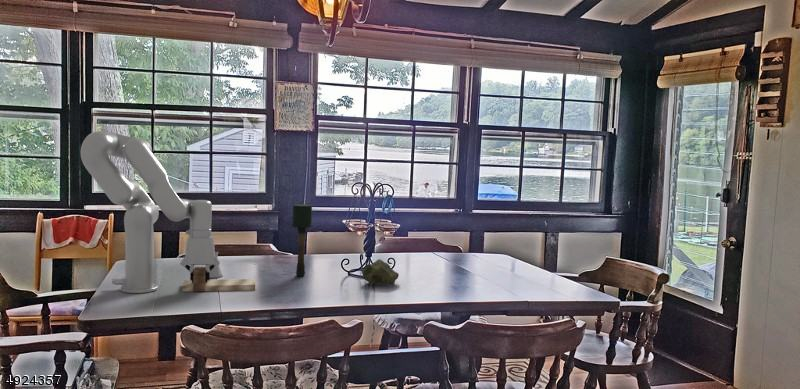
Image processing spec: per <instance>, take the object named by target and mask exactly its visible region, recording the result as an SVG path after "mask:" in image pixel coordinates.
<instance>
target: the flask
mask: <svg viewBox="0 0 800 389" xmlns="http://www.w3.org/2000/svg"><path fill="white" fill-rule="evenodd" d="M218 255H219V251H215V256H216V258H217V259H218V260H219V257H218ZM214 263H215V261H214ZM214 263H213V264H214ZM211 265H212V264H210V266H211ZM221 277H223V272H222V270H221V266H220V264H219V265H217V266H216V267H214V268H213V269H212V270H211V271H210V276H209V279H210V278H211V279H218V278H219V279H220V278H221Z"/></svg>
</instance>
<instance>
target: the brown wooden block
mask: <svg viewBox="0 0 800 389" xmlns="http://www.w3.org/2000/svg"><path fill="white" fill-rule="evenodd" d="M205 273H206V266H194V276H193V291H192V292H206V291H205V284H206V283H205Z"/></svg>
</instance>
